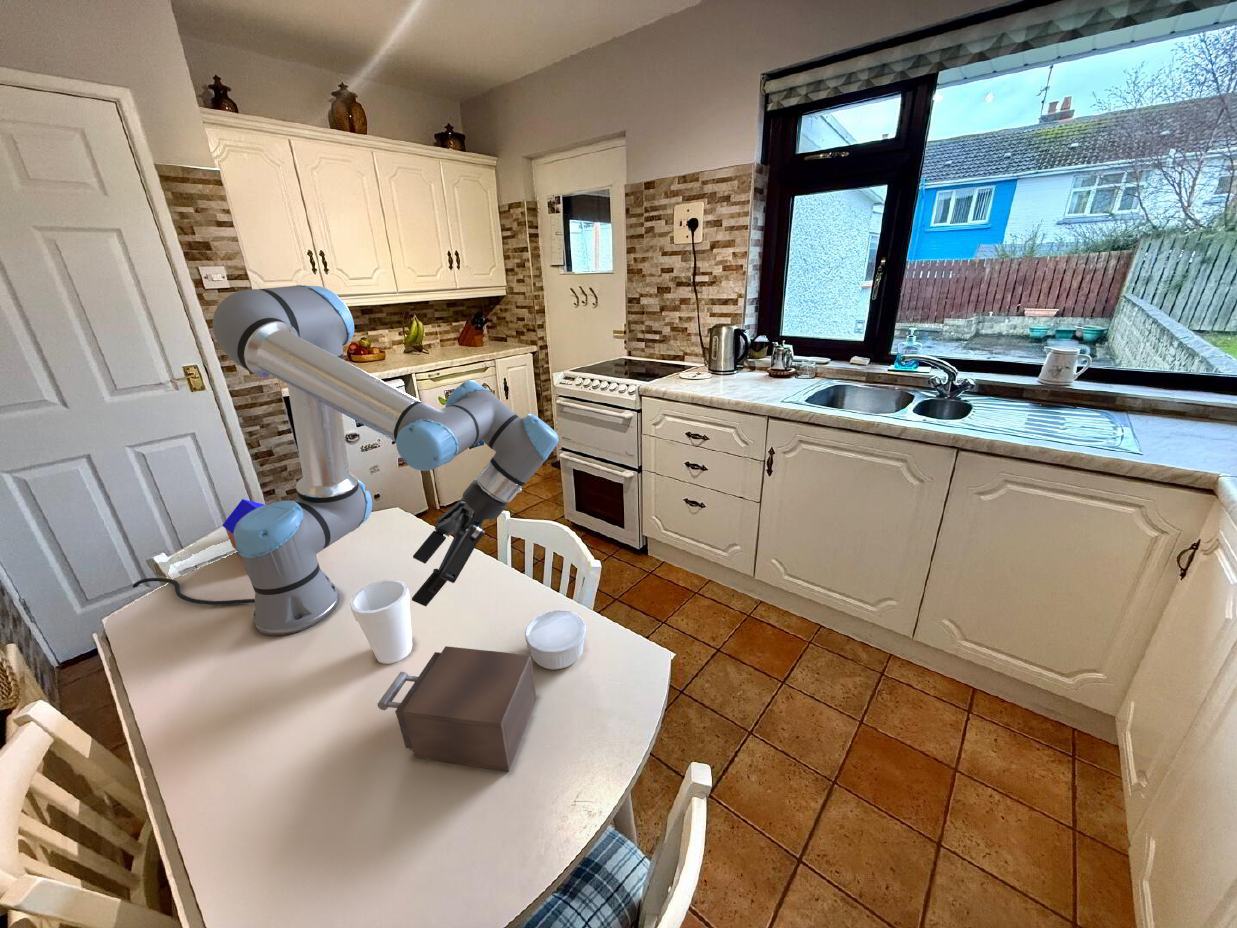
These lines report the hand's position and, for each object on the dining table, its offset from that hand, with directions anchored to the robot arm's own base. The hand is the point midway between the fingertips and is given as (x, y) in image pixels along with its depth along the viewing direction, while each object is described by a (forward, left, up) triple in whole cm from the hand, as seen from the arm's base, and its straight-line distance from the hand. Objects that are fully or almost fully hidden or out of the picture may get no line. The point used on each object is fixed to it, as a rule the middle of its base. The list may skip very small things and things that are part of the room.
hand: (418, 579), depth 88 cm
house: (-59, +25, -14) cm, 66 cm away
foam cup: (-6, -3, -14) cm, 16 cm away
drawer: (+12, -17, -13) cm, 24 cm away
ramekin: (+25, 0, -14) cm, 29 cm away
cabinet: (+17, -17, -14) cm, 28 cm away
